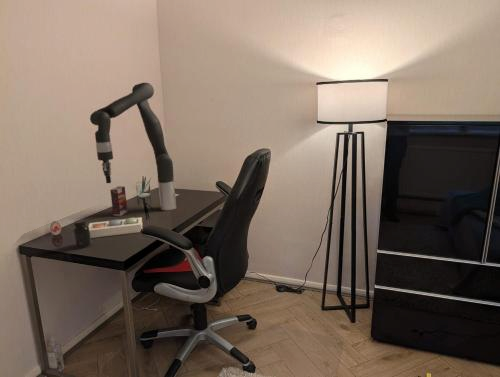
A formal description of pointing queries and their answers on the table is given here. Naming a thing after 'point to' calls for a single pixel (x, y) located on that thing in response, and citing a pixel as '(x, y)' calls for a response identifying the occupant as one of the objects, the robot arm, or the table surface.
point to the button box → (114, 228)
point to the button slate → (114, 222)
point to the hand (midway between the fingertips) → (108, 182)
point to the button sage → (131, 221)
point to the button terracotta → (98, 226)
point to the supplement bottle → (81, 234)
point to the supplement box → (118, 200)
